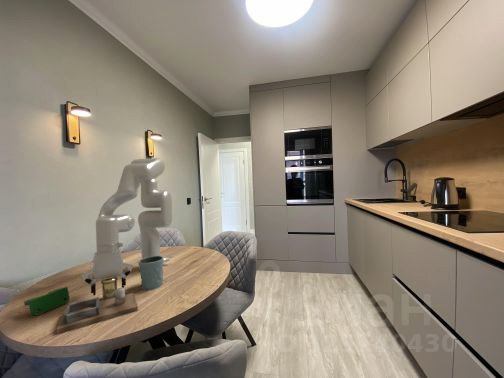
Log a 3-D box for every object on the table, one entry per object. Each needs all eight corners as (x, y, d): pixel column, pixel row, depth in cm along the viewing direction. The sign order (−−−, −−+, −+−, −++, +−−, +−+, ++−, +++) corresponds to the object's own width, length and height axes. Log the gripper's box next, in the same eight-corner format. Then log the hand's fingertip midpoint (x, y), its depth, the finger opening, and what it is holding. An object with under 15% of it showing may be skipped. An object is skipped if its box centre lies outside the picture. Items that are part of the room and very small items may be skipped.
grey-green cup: (168, 282, 104) (168, 256, 104) (152, 292, 95) (151, 263, 95) (151, 280, 108) (150, 255, 107) (134, 289, 98) (133, 261, 98)
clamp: (56, 313, 88) (62, 288, 92) (66, 312, 86) (72, 286, 90) (17, 317, 78) (26, 288, 83) (27, 315, 76) (35, 286, 80)
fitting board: (133, 296, 91) (133, 280, 91) (137, 310, 80) (136, 292, 80) (63, 314, 79) (62, 296, 79) (56, 334, 68) (56, 313, 68)
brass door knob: (118, 293, 95) (117, 274, 95) (118, 298, 90) (118, 278, 90) (101, 297, 91) (100, 277, 91) (101, 303, 87) (100, 282, 87)
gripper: (131, 243, 98) (132, 282, 98) (81, 249, 89) (82, 293, 89) (133, 246, 92) (134, 288, 92) (80, 254, 83) (81, 300, 82)
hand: (109, 290), depth 90 cm, fingers open, 9 cm apart
